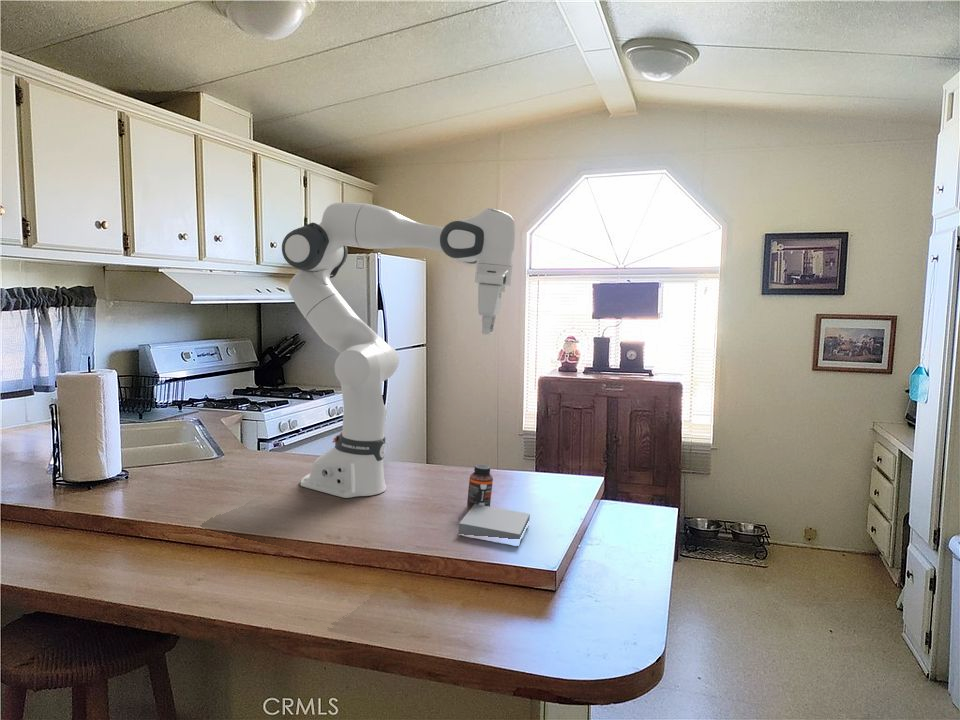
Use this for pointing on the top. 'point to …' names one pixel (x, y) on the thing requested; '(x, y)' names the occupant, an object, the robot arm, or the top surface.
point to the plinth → (493, 522)
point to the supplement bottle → (480, 487)
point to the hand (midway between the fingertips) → (487, 332)
